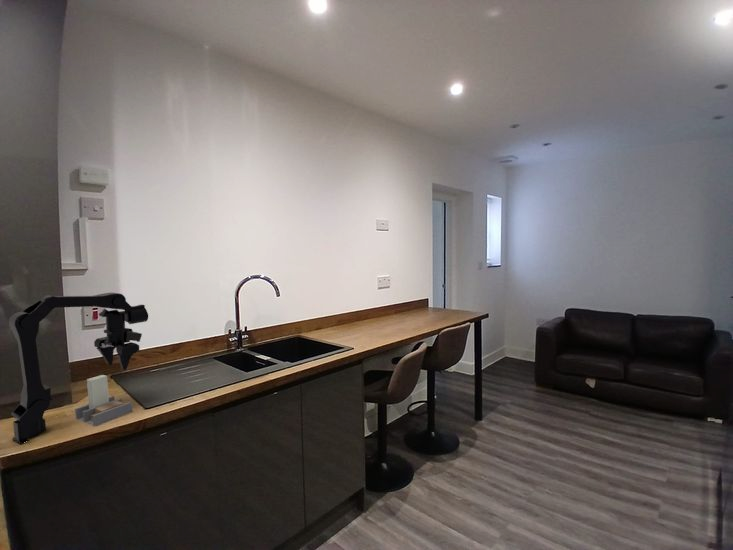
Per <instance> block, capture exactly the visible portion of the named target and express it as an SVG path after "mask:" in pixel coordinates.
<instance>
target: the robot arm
mask: <svg viewBox="0 0 733 550" xmlns="http://www.w3.org/2000/svg"><path fill="white" fill-rule="evenodd" d="M84 307H86V308H87V307H88V308H89V307H97V308H104V309H103V310H102V311H101V312H100V313H98V316H99V317H102V318H105V327H106V328H105V329H103V333H104V334H106V336H103V337H99V338H96V339H95V340H94V347H95V348H96V350H98V352H99V353H100V355H101V356H102V358H104V360H105V362H106V363H107V365H108V366H112V365H113V361H114V351H115V350H116V351H115V352H116V354H115V355H116V356H117V359H118V362H119V364H120V366H121V369H122V370H123V371H126V370H127V369H128V366H129V364H130V361H131V358H132V356H133V355H134V354H137V352H139V351H140V345H139V344H138V343H140V342H141V339H142V336H143V333H140V332H137V331H133V329H132V328H128V327H126V323H127V324H129V325H134V324H139V323H145V322H148V320H149V313H148V310H147V308H146V305H145V304H138V305H133V306H132V305H130V303H128V302H127V299H126V297H125V295H124V294H123V293H117V292H104V293H98V294H95V295H53V296H52V295H48V294H47V295H44V296H43V297H41V298H40V299H39V300H37V301H36V302H34V303H33V304H31V305H29V306H27V307H26V308H25V309H23V310H22V311H18V312H15V313H14V314H12V315H11V316H10V317H9V319H8V325H9V328H10V329H11V332H12V334H13V336H14V338H15V340H16V342H17V345H18V346H17V347H18V353H19V362H20V366H21V367H20V368H21V375H22V382H23V386H22V390H21V393H20V401H19V402H20V403H19V404H18V405H17V406H16V407H15V408H14V409H13V410H12V412H11V415H12V416H13V418H14V419H16V420H14V421H13V433H14V435H13V437H12V439H11V440H12V441H14V440H15V441H14V442H16V441H17V442H16V443H18V442H19V443H23V444H25V443H24V442H26V441H29V442H30V440H31V439H33V438H36V437H38V436H39V435H41V434H44V433H45V432H46V431H47V428H46V427H47V426H46V425H47V424H46V419H45V418H44V414H45V412H46V411H47V409H48V408H49V407H50V405H51V401H53V398H52V396H51V395H52V394H51V393H52V388H51V387H50V386H47V385H46V384H43V383H42V377H41V376H42V375H41V370H40V360H39V354H38V347H37V337H38V334H39V330H40V322H41V321H42V320H44V319H45V318H46V317H47V316H48V315H49V314H50V313H51V312H52V310H54V309H55V308H57V309H58V308H84ZM108 309H111V310H108ZM119 310H122V311H119ZM131 341H132V342H131ZM133 341H134V342H133ZM136 342H138V343H136ZM19 443H18V444H19ZM26 443H27V442H26Z"/></svg>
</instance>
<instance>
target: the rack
mask: <svg viewBox="0 0 733 550" xmlns="http://www.w3.org/2000/svg"><path fill="white" fill-rule="evenodd" d="M115 401H118V402H122V403H123V399H122V398H117V399H115V396H114V395H112V396H109V402H108V403H105V404H103V405H100V406H97V407H94V408H91V409H89V403H88V404H86V405H81V406H78V407H76V408H75V409H74V413H75V419H76V420H78V421H81V422H84V424H88V425H91V426H94V427H97V426H100V425H102V424H105V423H107V422H110V421H112V420H115V419H118V418H121V417H123V416H125V415H128V414H130V413H133V412H134V411H133V401H128V402H126V403H124V404H122V405H120V406H117V407H114V408H112V409H109V410H106V411H103V412H101V413H98V414H95V408H98V407H101V406H104V405H106V404H109V403H112V402H115ZM93 414H95V415H93ZM90 415H93V421H91V418H90Z"/></svg>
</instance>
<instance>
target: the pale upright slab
mask: <svg viewBox="0 0 733 550" xmlns="http://www.w3.org/2000/svg"><path fill="white" fill-rule="evenodd" d="M86 384H87V385H86V386H87V387H86V388H87V398H88V401H87V402H88V404H89V409H91V408H94V407H97V406H100V405H103V404H105V403H108V402H109V397H110V396H109V384H108V376H107V375H104V374H100V375H97V376H94V377H90V378H87V379H86Z"/></svg>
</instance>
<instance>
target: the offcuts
mask: <svg viewBox="0 0 733 550" xmlns="http://www.w3.org/2000/svg"><path fill="white" fill-rule="evenodd" d="M122 404H125V403H124V402H123V401H122V402H118V401H115V402H112V403H109V404H106V405H104V406H101V407H98V408H95V414H98V413H101V412H103V411H106V410H109V409H112V408H114V407H117V406H120V405H122ZM95 414H93V415H95ZM93 415H90V418H91V421H93Z"/></svg>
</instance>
